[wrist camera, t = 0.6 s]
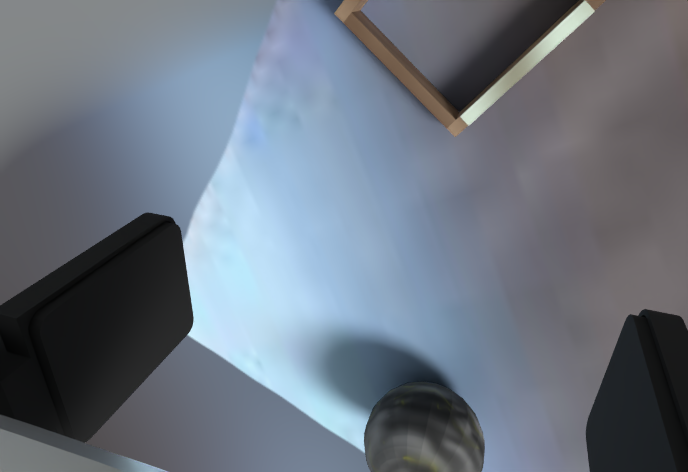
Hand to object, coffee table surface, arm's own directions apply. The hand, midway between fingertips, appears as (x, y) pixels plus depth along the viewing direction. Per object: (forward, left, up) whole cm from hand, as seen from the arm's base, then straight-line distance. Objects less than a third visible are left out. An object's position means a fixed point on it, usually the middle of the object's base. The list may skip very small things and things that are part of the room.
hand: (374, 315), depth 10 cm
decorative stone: (+22, +18, -27) cm, 39 cm away
